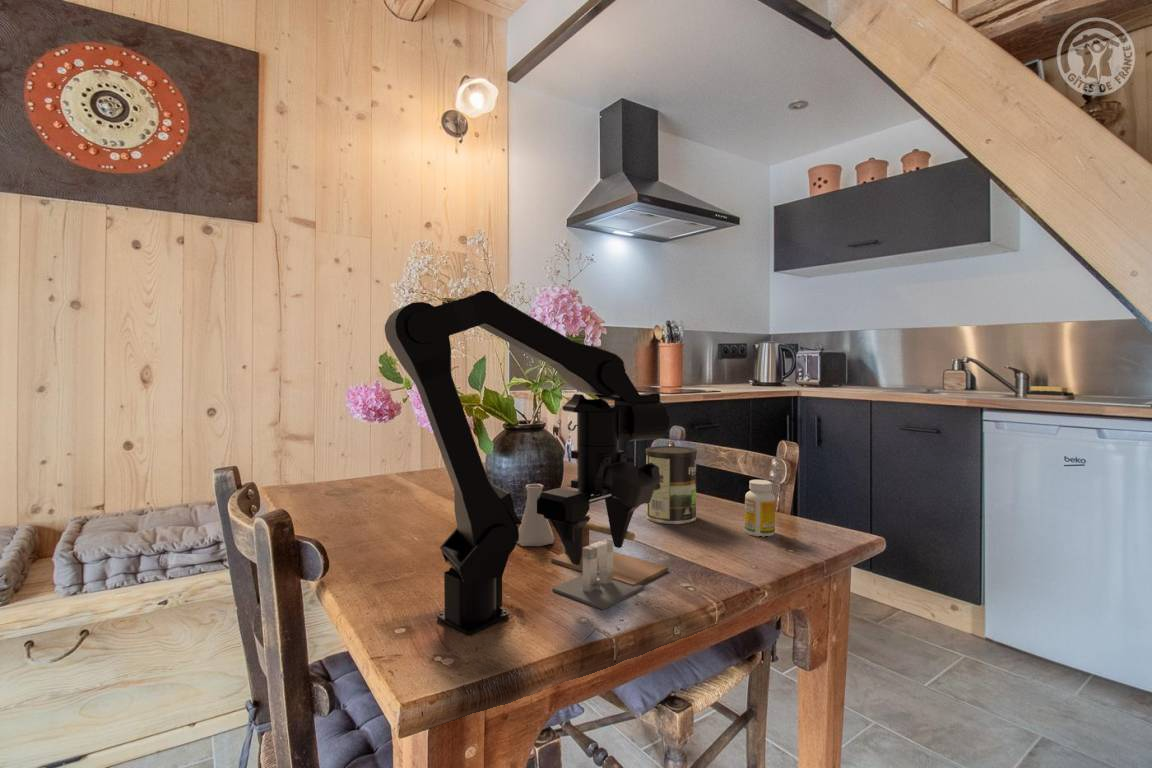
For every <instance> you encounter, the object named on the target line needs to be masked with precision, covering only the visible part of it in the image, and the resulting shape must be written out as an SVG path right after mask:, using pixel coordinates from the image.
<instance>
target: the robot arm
mask: <svg viewBox="0 0 1152 768" xmlns="http://www.w3.org/2000/svg"><path fill="white" fill-rule="evenodd" d="M476 327H479V328H481V329H483V330H485V331H487V332H488V333H490V334H492V335H494V336H495V337H498V338H499V339H501V340H503V341H505V342H507V343H509V344H511V345H512V346H515V347H516V348H518V349H520V350H522V351H523V352H525V353H527V354H529V355H531V356H533V358H537V359H538V360H540V361H542V362H543V363H546V364H547V365H549V366H551V367H552V368H553V369H554V370H555V371H556V372H557V373H558V374H559V376H560V377H561V378H562V379H563V380H564V381H565V382H566V383H568V384H569V385H570V386H572V388H574V389H575V390H576V391H578V392H580V393H582V394H580V393H579V394H577V393H574V394H573V396H572V397H571V398H570V399H569V400H568V401H567V402H566V403H565V404H564V405H563V406H562V407H561V408H562V411H564V412H569V413H576V414H577V415H576V419H577V420H576V421H577V422H576V425H577V426H576V427H577V430H576V431H577V432H576V435H577V438H576V440H577V441H576V442H577V444H576V449H575V450H571V451H570V459H574V460H576V461H577V462H576V465H577V466H576V467H577V468H576V469H577V470H576V472H577V473H576V478H575V479H571V480H570V489H568V488H562V487H557V488H553V489H549V490H545V491H542V492H541V494H540V495H539V496H538V497H537V514H541V515H544V518H546V519H548V521H549V522H550V523H551V524H552V525H551V526H553V529H554V530H555V531H556V533H557V535H558V537H559V539H560V541H561V543H562V545H563V548H564V550H565V549H566V552H567V554H568V556H569V558H570V560H571V562H572V564H574V565H579V564H580V559H581V548H582V529H583V527H584V525H585V524H586V523H587V522H588V521H589V522H590V520H591V517H590V516H589V517H586V515H588V512H589V511H590V504H593V503H596V502H598V501H599V502H600V501H603V500H604V502H605V507H606V512H607V517H608V518H607V519H608V524H609V527H610V530H611V535H612V536H611V535H610V536H611V539H612V541H613V547H615V548H617V549H622V547H623V545H624V541H625V540H626V539H625V535H626V532H627V531H628V529H629V526H630V522H631V520H632V518H633V515H634V513H635V511H636V509H638V508H639V507H640V506H641V505H643V504H648V503H650V501H651V498H652V495H653V492H654V491H655V490H659V489H660V487H661V486H660V484H659V481H660V473H659V467H658V466H656V465H655V464H653V463H648V464H646V463H644V464H643V465H641V466H639V465H635V466H634V465H631V464H630V463H628V462H627V461H628V460H627V453H626V451H625V450H620V449H619V445H620V444H619V443H620V442H619V441H620V439H621V440H623V441H624V442H632V441H633V442H634V441H637V442H638V441H646V440H647V441H648V440H649V441H650V440H658V439H662V438H664V437H665V436H666V435H667V433H668V430H669V428H670V416H669V415H668V411H667V408H666V406H665V404H664V403H663V402H662V401H661V394H660V393H659V392H643V393H639V391H638V390H637V388H636V386H635V385H634V383H633V382H632V380H631V378H630V377H629V376H628V374H627V372H626V367H625V362H624V360H623V359H622V358H621V356H619V355H618V354H617V353H614V352H611V351H608V350H605V349H603V348H600V347H597V346H593V345H588V344H584V343H581V342H577V341H575V340H572V339H571V338H568V337H566V335H563V334H561V333H559V332H558V331H556V330H555V329H553V328H551V327H550V326H549V325H546V324H544V323H543V322H541V321H539V320H538V319H536V318H534V317H532V316H531V315H529V314H527V313H526V312H523V311H522V310H520V309H518V308H517V307H515V306H513V305H512V304H509V303H508V302H506V301H505V300H502V299H501V298H500V297H499V296H498V295H497V294H496V293H494V291H491V290H480V291H477V292H475V293H471V294H469V295H468V296H466V297H463V298H459V299H456V300H452V301H449V302H446V303H442V304H439V305H436V306H435V305H432V304H431V303H429V302H423V301H415V302H411V303H408V304H407V305H404V306H402V307H400V308H398V309H395V310H394V311H393V312H391V314H390V315H389V316H388V317H387V320H386V322H385V324H384V334H385V338H386V341H387V343H388V345H389V346H390V347H391V350H392V351H393V353H394V355H395V356H396V358H397V359H398V361H399V364H400V365H401V366H402V367H403V369H404V370H405V373H407V374H408V376H409V377H410V378H411V380H412V381H413V383H414V384H415V386H416V389H417V391H418V395H419V398H420V400H421V402H422V405H423V408H424V411H425V414H426V416H427V419H428V421H429V422H428V423H429V425H430V427H431V431H432V432H433V436H434V438H435V441H436V444H437V446H438V449H439V451H440V454H441V457H442V460H443V463H444V465H445V468H446V471H447V473H448V476H449V480H450V482H451V484H452V487H453V492H454V497H453V498H454V502H453V503H454V506H453V507H454V510H453V511H454V514H455V521H456V528H455V529H454V531H453V532H452V533H451V534H450V535H449V536H448V538H447V539H446V540H445V541H444V542H443V543H442V544H441V545H440V547H439V550H440V552H441V555H442V557H443V559H444V561H445V563H447V564H448V565H449V566H450V567H449V570H447V571H444V574H443V575H444V576H443V581H444V582H443V587H444V588H443V589H444V592H443V593H444V600H443V601H444V611H442V612H439V613H437V614H436V618H437V620H439V621H440V622H442V623H444V624H446V625H448V626H450V627H452V628H454V629H455V630H457V631H460V632H461V633H463V634H465V635H471V634H473V633H475V632H478V631H480V630H482V629H485V628H487V627H489V626H491V625H494V624H496V623H498V622H500V621H502V620H505V619H507V618H509V614H510V613H509V611H508V610H505V609H503V608H502V607H503V575H504V572H505V569H506V566H507V564H508V559H509V557H510V555H511V553H512V552H513V551H514V550H515V547H516V545H517V544H518V543H517V542H518V540H519V531H518V530H519V527H518V525H520V524H521V523H522V522H521V521H522V520H520V519H519V517H518V516H517V514H516V511H515V506H514V500H513V497H512V495H511V493H510V492H508V491H506V490H504V489H502V488H500V487H499V486H496V485H495V484H493V485H492V484H491V483H490V481H489V478H488V475H487V472H486V469H485V467H484V463H483V461H482V458H481V456H480V452H479V450H478V447H477V443H476V441H475V438H474V436H473V432H472V430H471V427H470V424H469V420H468V417H467V416H466V413H465V410H464V408H463V404H462V402H461V401H462V400H461V399H460V395H459V393H458V389H457V387H456V385H455V381H454V378H453V376H452V375H453V374H452V345H451V341H450V336H452V335H455V334H459V333H461V332H464V331H468V330H470V329H473V328H476ZM583 394H586V395H587V394H589V395H593V396H595V398H590V399H588V398H586V397H585V396H584V395H583ZM607 401H613V403H614V404H613V405H610V404H609V403H608V402H607ZM571 488H572V489H571ZM573 489H575V490H573ZM576 489H577V490H576Z"/></svg>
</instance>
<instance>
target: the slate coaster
mask: <svg viewBox="0 0 1152 768" xmlns="http://www.w3.org/2000/svg"><path fill="white" fill-rule="evenodd" d="M597 578H598V579H599V575H598V574H597ZM551 588H552V589H551V590H552V592H554V593H558V594H560V595H562V596H565V597H568V598H569V599H570V598H571V599H572V600H576V601H578V602H581V603H583V604H586V605H589V606H592V607H593V608H597V609H600V610H603V611H604V610H606V609H608V608H609V607H612V606H613V605H615V604H617V603H618V602H621V601H623V600H625V599H626V598H628V597H630V596H632V595H634V594H635V593H638V592H639V591H641V590H643V589H644V585H643V584H642V585H639V584H636V585H634V586H632V585H629V584H626V583H623V582H619V581H616V580H613V583H612V584H610V585H608V586H606V585H603V584H600V590H597V591H595V592H593V593H591V594H589V593H587V592H584V591H583V574H581V575H579V576H577V577H574V578H572V579H570V580H568V581H566V582H563V583H561V584H559V585H555V586H553V587H551Z"/></svg>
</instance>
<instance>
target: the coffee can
mask: <svg viewBox="0 0 1152 768" xmlns="http://www.w3.org/2000/svg"><path fill="white" fill-rule="evenodd" d="M645 453H646V455H645V456H646V459H645V461H646V462H645V464H648V463H653V464H655V465H656V466H658V467H659V473H660V481H659V484H660V486H661V487H660V489H659V490H655V491H654V492H653V495H652V498H651V501H650V503H648V504H646V503H645V504H646V505H645V506H646V507H645V508H646V511H645V513H646V514H645V517H646V519H647V520H649V521H651V522H653V523H657V524H665V525H685V524H686V523H687V524H691V523H694V522H695V521H696V520H697V453H698V451H697V449H696V448H694V447H687V446H677V445H660V446H658V445H657V446H656V445H655V446H649V447H647V448H645ZM693 521H694V522H693ZM690 522H691V523H690Z"/></svg>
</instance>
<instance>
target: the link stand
mask: <svg viewBox="0 0 1152 768" xmlns="http://www.w3.org/2000/svg"><path fill="white" fill-rule="evenodd" d="M586 517H590V515H589V514H586ZM590 531H592V532H597V533H601V534H605V535H608V536H611V537H612V535H611V530H610V526H608V525H603V524H600V523H596V522H592V521H590V520H589V521H588V522H587V523H586V524H585V525H584V527H583V529H582V548H581V559H580V564H579V565H574V564H572V562H571V560H570V558H569V556H568V554H567V552H566V549H565V548H564V553H561V554H558V555H556V556H553V557H551V558H550V559H551V561H550V562H551V563H554V564H557V565H560V566H561V567H562V566H563V567H567V568H569V569H572V570H576V571H577V572H578V571H579V572H581V573H583V547H586V546H588V545H590ZM635 538H636V535H635V533H634V532H632V531H628V530H627V532H626V535H625V539H624V540H627V541H633V540H635ZM668 571H669V566H666V565H662V564H659V563H656V562H653V561H652V562H651V561H648V560H645V559H641V558H638V557H634V556H631V555H628V554H627V555H626V554H624V553H621V552H620V553H619V552H616V551H613V580H616V581H619V582H623V583H626V584H629V585H632V586H634V585H636V584H639V585H643V584H645V583H647V582H650V581H651V580H653V579H656V578H657V577H659V576H661V575H663V574H665V573H666V572H668ZM597 574H598V575H599V557H597Z"/></svg>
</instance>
